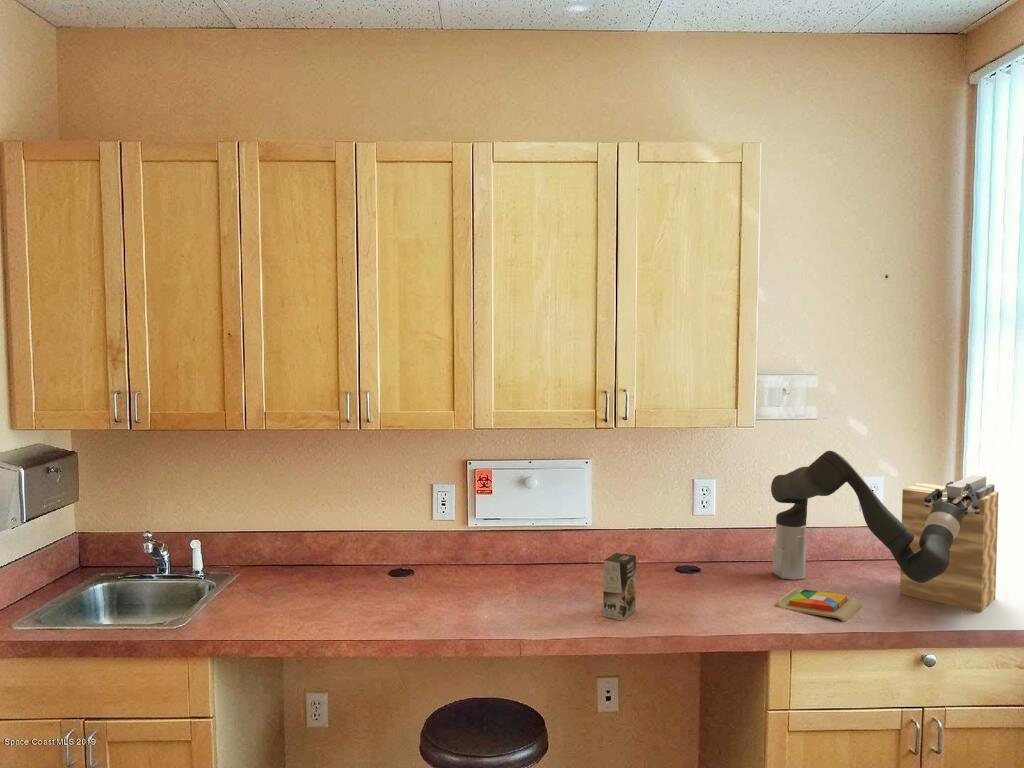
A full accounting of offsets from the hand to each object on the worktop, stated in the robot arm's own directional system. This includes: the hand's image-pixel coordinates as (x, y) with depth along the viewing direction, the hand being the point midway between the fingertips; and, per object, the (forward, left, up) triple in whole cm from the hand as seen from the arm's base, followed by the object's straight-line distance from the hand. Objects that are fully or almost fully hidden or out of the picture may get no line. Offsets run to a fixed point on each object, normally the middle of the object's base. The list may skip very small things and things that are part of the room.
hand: (960, 485), depth 199 cm
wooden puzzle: (-36, +9, -37) cm, 52 cm away
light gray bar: (+6, +4, -3) cm, 8 cm away
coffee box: (-95, +11, -36) cm, 102 cm away
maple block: (+6, +11, -36) cm, 38 cm away
